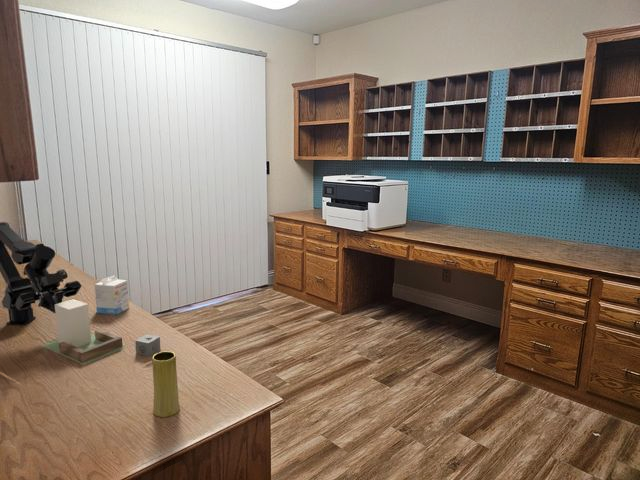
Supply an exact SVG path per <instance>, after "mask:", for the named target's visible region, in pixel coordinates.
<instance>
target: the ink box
mask: <svg viewBox="0 0 640 480" xmlns="http://www.w3.org/2000/svg"><path fill="white" fill-rule="evenodd" d="M94 294H95V308H96V313H98V314H99V313H101V314H103V315H114V316H117V315H118V314H121V313H123V312H125V311H126V310H128V309H129V308H130V301H129V300H130V299H129V287H128V280H126V279H119V278H118V277H117V276H116V275H110V276H108V277H105V278H102V279H100V281H99V282H97V283H95V284H94Z"/></svg>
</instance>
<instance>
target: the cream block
mask: <svg viewBox="0 0 640 480" xmlns="http://www.w3.org/2000/svg"><path fill="white" fill-rule="evenodd" d="M89 312H90V311H89V304H88V303H86V302H83V301H81V300H78V299H77V300H76V299H74V298H73V299H70V300H66V301H62V302H61V303H58V304H55V313H54V314H55V320H56V323H55V324H56V332H57V340H58V343H61V342H66V343H68V344H71V345H73V346H75V347H80V346H82V345H85V344H88V343H90V342H91V324H90V323H91V322H90V313H89Z"/></svg>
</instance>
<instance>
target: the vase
mask: <svg viewBox="0 0 640 480" xmlns="http://www.w3.org/2000/svg"><path fill="white" fill-rule="evenodd" d="M151 363H152V378H153V379H152V381H153V382H152V383H153V408H152V412H153V415H155V416H156V417H158V418H159V417H160V418H167V417H171V416H173V415H176V413H178V412H179V411H180V407H181V406H180V402H179V399H180V398H179V385H178V375H177V373H178V372H177V371H178V370H177V356H176V353H175V352H174V351H171V350H170V351H169V350H167V351H166V350H164V351H160V352H159V351H158V352H156V353H155V354H153V355H152V356H151Z"/></svg>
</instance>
